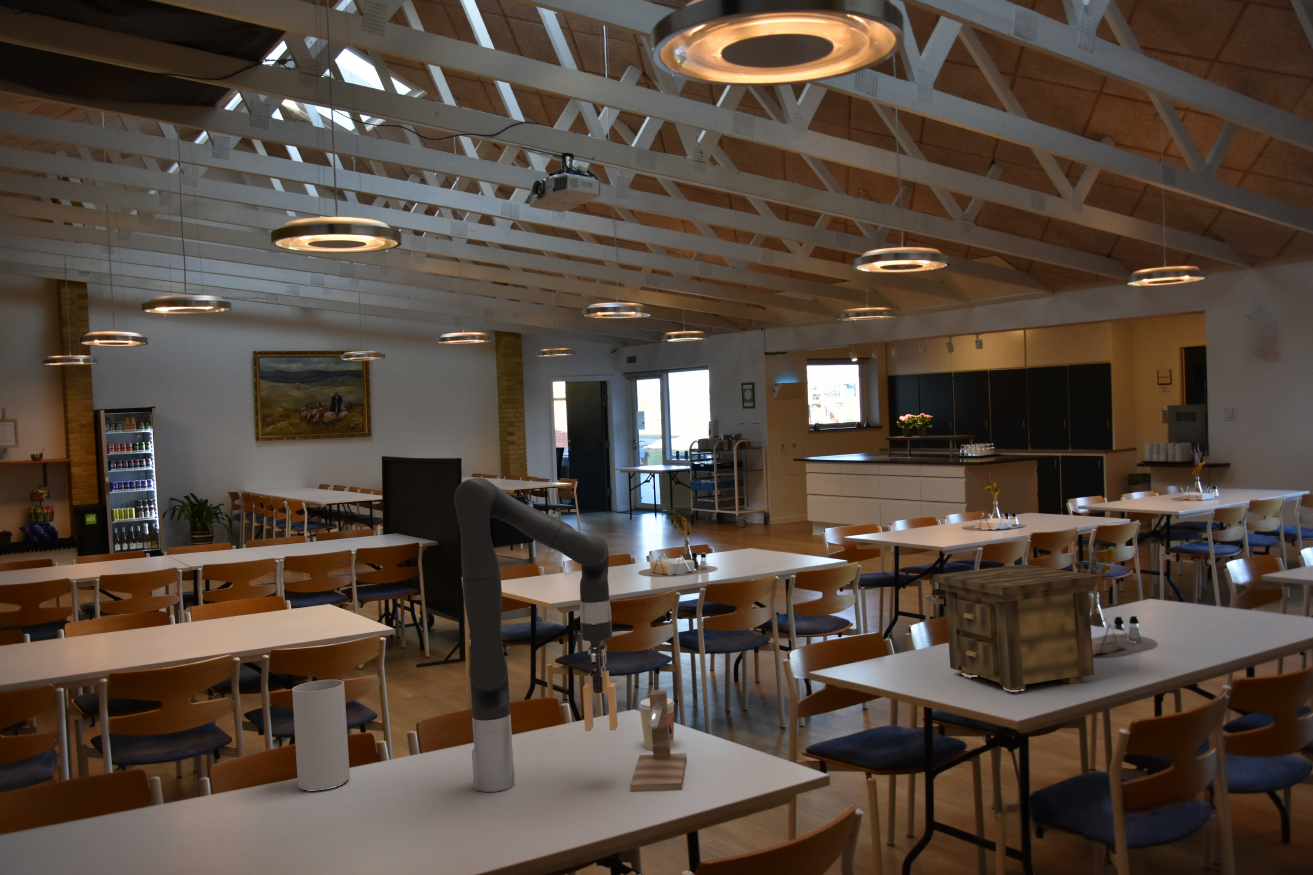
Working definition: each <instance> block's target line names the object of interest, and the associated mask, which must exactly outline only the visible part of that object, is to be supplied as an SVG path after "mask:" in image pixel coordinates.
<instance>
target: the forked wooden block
mask: <svg viewBox="0 0 1313 875" xmlns="http://www.w3.org/2000/svg"><path fill="white" fill-rule="evenodd" d="M602 674H603V676H602V686H603V691H602V693H601V694H607V700H608V720H609V722H608V723H609V731H616V730H617V728H618V726H619V724H618V707H617V706H618V705H617V688H616V682H610V670H605V671H602ZM582 694H583V696H582V697H583V716H584V717H583V718H584V732H592V730H593V728H594V715H593V713H594V712H593V709H594V708H593V694H595V693H594V692H593V677H591V676H590V673H588V683H585V684H584V686H582Z"/></svg>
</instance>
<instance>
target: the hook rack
mask: <svg viewBox="0 0 1313 875" xmlns="http://www.w3.org/2000/svg"><path fill="white" fill-rule="evenodd" d="M649 698H650V710H651V714H650V717H649V721H648V727H649V728H651V729H652V742H653V750H652V754H639V757H638V758H637V763H636V764H635V765H636V766H635V770H634V772H633V775H632V779H631V781H630V785H629V786H630V788H629V789H630V792H649V791H650V792H654V791H657V792H658V791H681V790H682V789H683V784H684V778H685V771H686V766H687V759H688V758H687V753H686V752H685V753H684V752H683V753H672V752H671V748H670V738H669V722H668V706H667V698H668V693H667V689H661V690H660V689H659V690H658V689H657V690H650V692H649Z"/></svg>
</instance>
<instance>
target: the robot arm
mask: <svg viewBox="0 0 1313 875" xmlns="http://www.w3.org/2000/svg"><path fill="white" fill-rule="evenodd" d="M453 500H454V506H455V511H456V512H455V513H456V517H457V522H458V523H457V524H458V527H459V528H458V529H459V535H460V556H461V558H460V559H461V569H462V570H461V575H462V576H461V578H462V580H461V581H462V592H463V600H464V607H465V614H466V619H467V624H468V629H469V637H470V640H469V641H470V651H469V652H470V654H469V658H470V659H469V669H468V673H469V674H468V675H469V679H470V697H471V698H470V699H471V700H470V701H471V717H472V720H471V721H472V732H473V749H472V750H471V759H472V761H471V762H472V776H473V778H472V779H473V791H480V792H485V793H487V792H488V793H491V792H492V793H495V792H500V791H505V790H509V789H510V788H513V786H514V785H515V783H516V780H515V768H514V767H515V765H514V750H513V734H512V721H511V720H512V719H511V718H512V717H511V716H512V715H511V702H510V701H511V700H510V699H511V698H510V688H509V686H510V685H509V670H508V668H509V667H508V662H507V657H506V656H505V654H504V646H503V640H502V632H501V629H502V628H501V625H502V611H503V610H502V606H503V604H502V603H503V600H502V598H503V597H502V595H503V592H502V591H503V590H502V577H501V568H500V564H499V561H498V560H499V559H498V557H497V554H496V550H495V547H494V544H493V541H492V536H491V526H490V525H491V524H490V522H491V521H490V520H491V518H495V519H497V520H500V521H502V522H505V523H507V524H509V525H510V526H512V527H513V528H515V529H517V530H518V531H520V532H521V533H523V534H524V535H526V536H527V537H529V538H531V539H532V540H534V541H536V542H537V543H540V544H542V545H544V546H546V547H548V548H550V549H552V550H555V551H558V552H560V553H561V554H563V555H564V556H566V557H567V558H569V559H571V560H572V561H574V562H575V563H576V564H580V565H581V579H580V582H579V595H580V596H579V597H580V599H579V600H580V603H579V604H580V607H579V615H580V616H579V619H580V620H579V621H580V638H581V640H582V641H583V642H590V646H589V647H588V650H587V652H588V653H587V658H588V665H589V666H588V667H589V674H590V676H591V677H593V692H594V693H593V694H603V693H602V691H603V686H602V676H603V674H602V671H607V669H606V668H607V660H608V659H607V643H606V642H604V641H607V640H608V641H609V640H610V639H612V637H613V626H612V624H613V623H612V609H611V608H612V607H611V603H610V586H609V579H608V578H609V577H608V575H609V561H610V560H609V559H610V558H609V556H610V554H609V547H608V544H607V542H606V540H605V539H603V538H602V537H600V536H597V535H592V536H591V535H590V536H589V535H586V534H584V533H582V532H580V531H578V530H576V529H574V527H573V526H572V525H570V524H568V523H566V522H564V521H562V520H560V519H558V518H556V517H554V516H552V515H550V514H548V513H545V512H544V511H541V510H538V509H537V508H534V507H532V506H529V505H527V504H526V503H524V502H522V501H520V500H518V499H516V498H515V497H513V496H511V495H510V494H508V493H507V492H505V491H504V490H502V489H501V488H499V487H498V486H497V485H496V484H495V483H493V482H491V481H489V480H488V479H486V478H483V477H474V478H469V479H466V480H464V481H462V482H460V484H459V485H458V486H457V488H456V490H455V492H454V499H453Z"/></svg>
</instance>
